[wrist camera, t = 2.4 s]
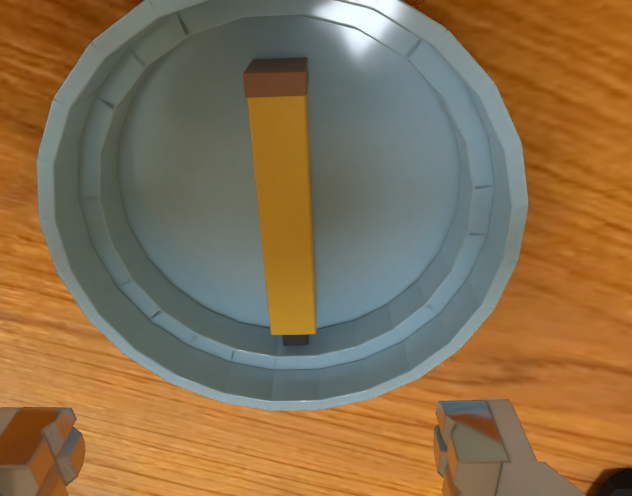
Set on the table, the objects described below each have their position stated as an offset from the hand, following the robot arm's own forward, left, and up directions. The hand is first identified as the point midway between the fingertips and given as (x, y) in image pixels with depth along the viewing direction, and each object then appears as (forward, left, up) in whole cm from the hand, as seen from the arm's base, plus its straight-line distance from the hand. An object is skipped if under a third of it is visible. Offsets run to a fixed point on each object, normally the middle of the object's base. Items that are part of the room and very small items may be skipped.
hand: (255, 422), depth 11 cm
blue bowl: (0, 0, -13) cm, 13 cm away
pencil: (0, 0, -12) cm, 12 cm away
